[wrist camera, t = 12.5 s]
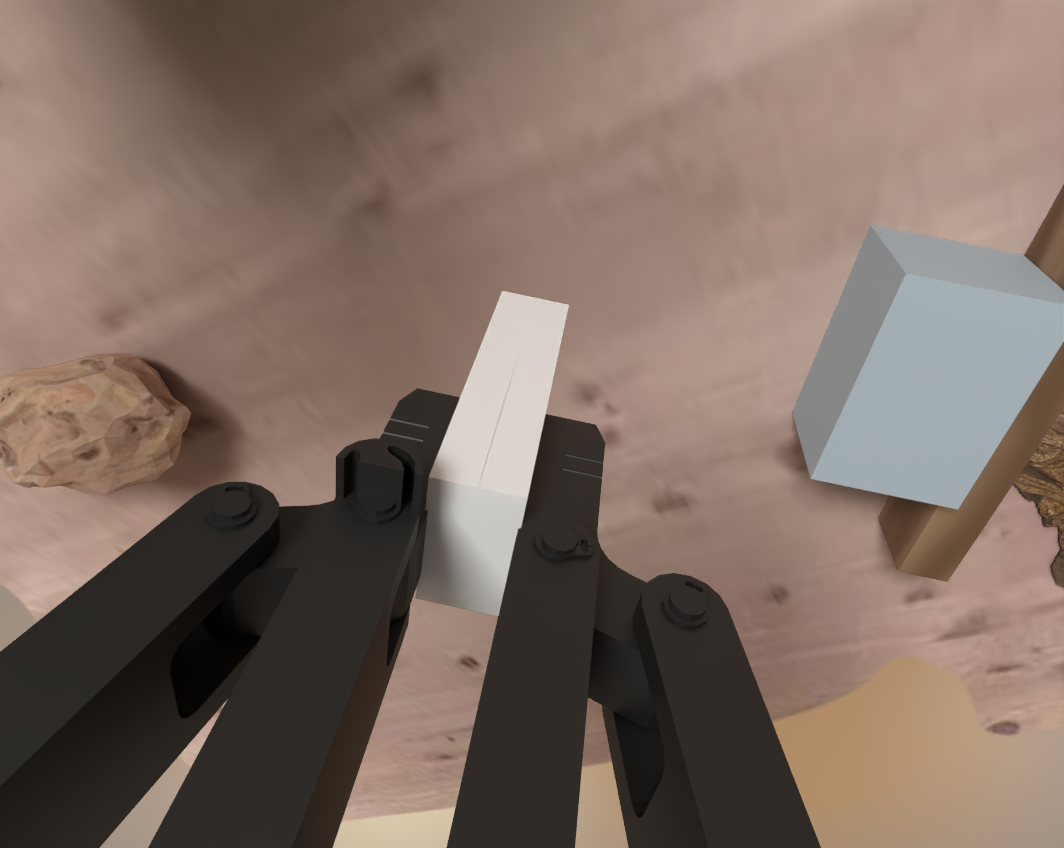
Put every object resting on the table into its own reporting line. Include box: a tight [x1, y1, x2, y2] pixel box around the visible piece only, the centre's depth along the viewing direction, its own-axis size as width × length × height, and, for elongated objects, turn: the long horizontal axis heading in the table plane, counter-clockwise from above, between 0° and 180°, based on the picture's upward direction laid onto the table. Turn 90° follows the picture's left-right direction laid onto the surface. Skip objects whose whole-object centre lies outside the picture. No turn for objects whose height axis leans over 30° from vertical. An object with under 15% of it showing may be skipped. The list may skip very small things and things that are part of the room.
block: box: [792, 225, 1064, 509], centre depth 39 cm, size 8×12×7 cm, turn 172°
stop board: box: [878, 186, 1064, 582], centre depth 39 cm, size 3×28×5 cm, turn 171°
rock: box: [0, 354, 191, 494], centre depth 49 cm, size 18×10×10 cm, turn 116°
